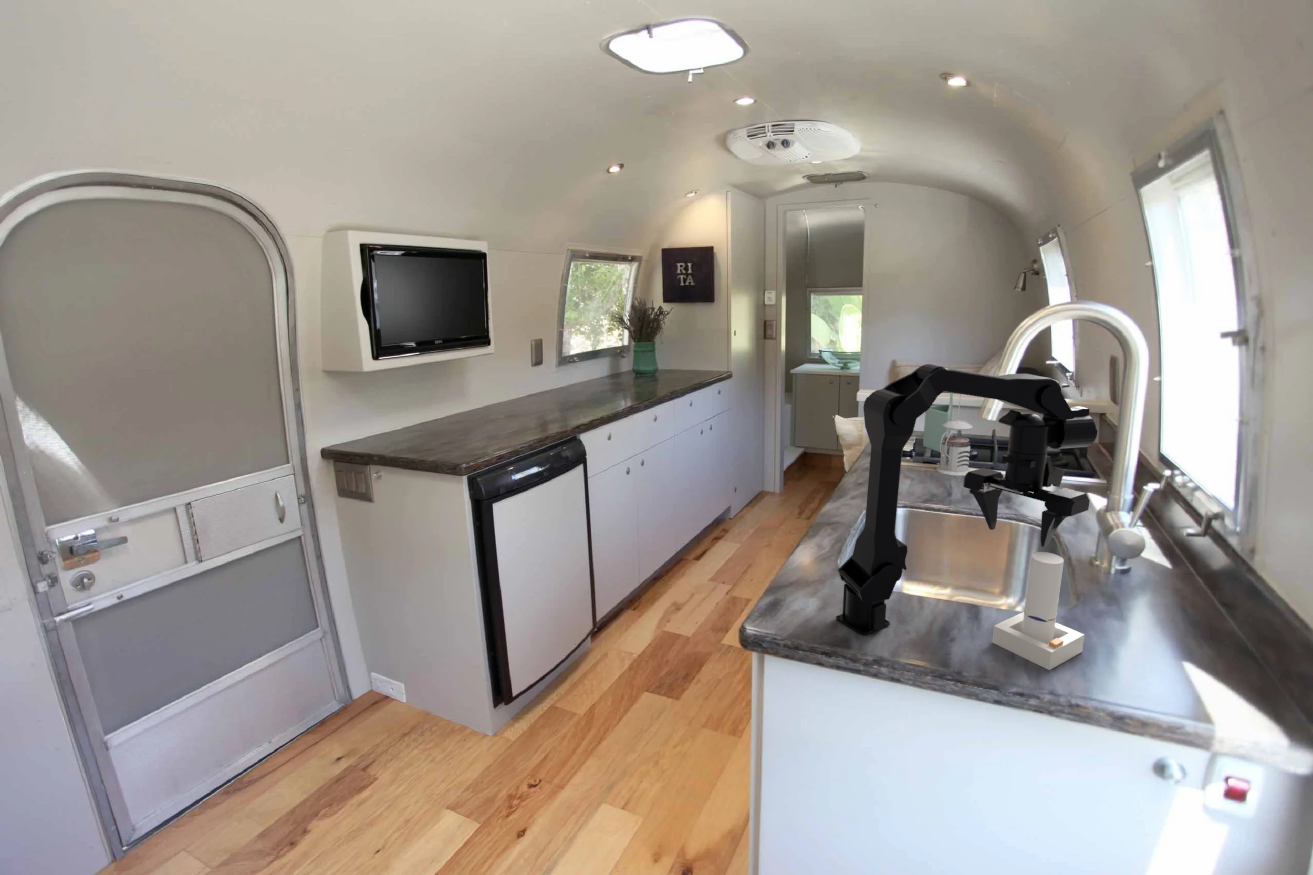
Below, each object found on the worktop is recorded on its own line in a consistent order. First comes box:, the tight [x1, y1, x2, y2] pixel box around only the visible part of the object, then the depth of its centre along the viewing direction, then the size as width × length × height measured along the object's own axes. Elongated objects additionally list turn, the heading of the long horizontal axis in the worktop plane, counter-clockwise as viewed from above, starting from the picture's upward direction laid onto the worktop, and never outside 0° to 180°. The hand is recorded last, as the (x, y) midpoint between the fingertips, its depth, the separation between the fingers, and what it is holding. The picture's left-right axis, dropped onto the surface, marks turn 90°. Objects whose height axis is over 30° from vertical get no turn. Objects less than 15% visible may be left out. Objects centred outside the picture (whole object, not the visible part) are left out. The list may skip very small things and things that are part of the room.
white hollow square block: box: [991, 611, 1085, 671], centre depth 102 cm, size 9×9×4 cm
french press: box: [935, 394, 973, 476], centre depth 191 cm, size 10×12×25 cm
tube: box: [1022, 551, 1065, 644], centre depth 101 cm, size 4×4×15 cm
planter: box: [922, 393, 954, 453], centre depth 219 cm, size 16×8×20 cm, turn 153°
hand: (1017, 537), depth 112 cm, fingers open, 9 cm apart
